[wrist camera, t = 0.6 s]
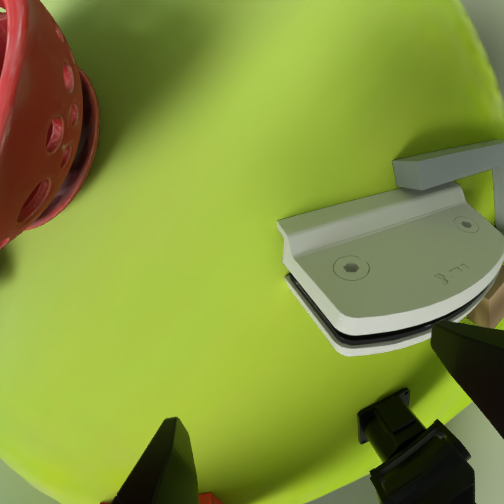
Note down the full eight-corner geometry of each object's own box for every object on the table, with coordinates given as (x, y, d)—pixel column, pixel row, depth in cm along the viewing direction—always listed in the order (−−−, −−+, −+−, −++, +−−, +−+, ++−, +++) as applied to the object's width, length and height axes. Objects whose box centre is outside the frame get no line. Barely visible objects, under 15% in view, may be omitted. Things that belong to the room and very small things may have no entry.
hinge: (449, 176, 21) (535, 238, 13) (441, 221, 24) (514, 286, 16) (271, 222, 20) (342, 341, 12) (278, 275, 22) (335, 389, 15)
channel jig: (503, 240, 25) (528, 249, 21) (407, 293, 23) (436, 312, 20) (496, 139, 21) (525, 141, 18) (392, 160, 20) (427, 162, 16)
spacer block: (491, 291, 27) (514, 304, 23) (466, 317, 27) (489, 333, 23) (488, 258, 25) (513, 270, 21) (462, 285, 25) (488, 299, 21)
